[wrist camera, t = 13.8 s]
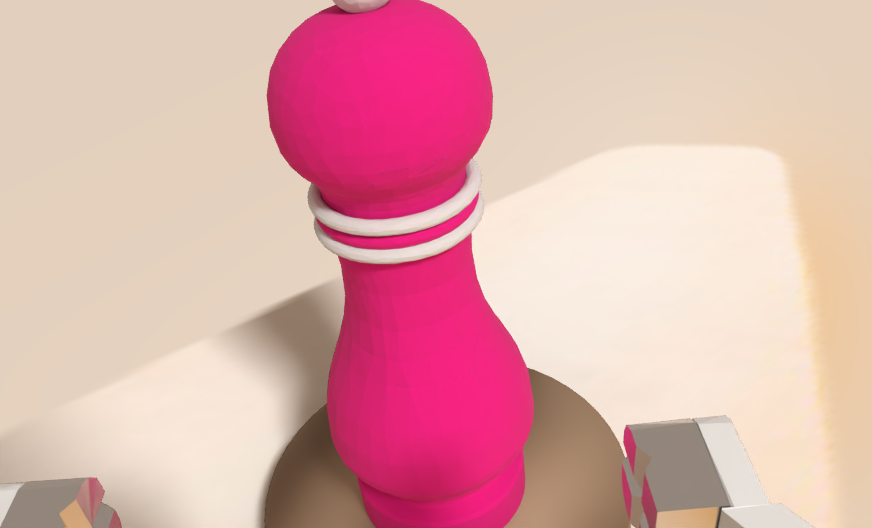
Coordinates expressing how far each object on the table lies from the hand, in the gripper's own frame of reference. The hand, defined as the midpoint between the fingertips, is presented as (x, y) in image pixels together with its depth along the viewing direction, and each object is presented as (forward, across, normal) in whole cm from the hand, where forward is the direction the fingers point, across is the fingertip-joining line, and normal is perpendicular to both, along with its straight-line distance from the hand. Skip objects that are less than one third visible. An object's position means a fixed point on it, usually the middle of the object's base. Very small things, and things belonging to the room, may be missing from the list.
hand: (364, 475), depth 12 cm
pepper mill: (+12, 0, +15) cm, 19 cm away
